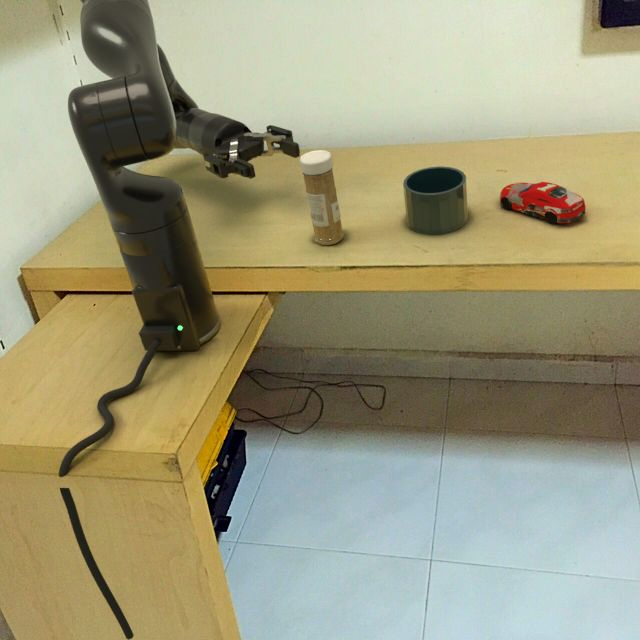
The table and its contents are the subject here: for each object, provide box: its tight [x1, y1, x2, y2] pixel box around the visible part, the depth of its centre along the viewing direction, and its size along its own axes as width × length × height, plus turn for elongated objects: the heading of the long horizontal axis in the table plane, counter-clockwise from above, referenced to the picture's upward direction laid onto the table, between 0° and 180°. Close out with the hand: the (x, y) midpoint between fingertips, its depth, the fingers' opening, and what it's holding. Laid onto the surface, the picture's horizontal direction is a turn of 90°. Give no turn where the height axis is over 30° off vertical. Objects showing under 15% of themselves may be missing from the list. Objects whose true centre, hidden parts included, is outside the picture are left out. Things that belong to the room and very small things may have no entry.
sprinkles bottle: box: [299, 149, 345, 246], centre depth 109 cm, size 5×5×14 cm
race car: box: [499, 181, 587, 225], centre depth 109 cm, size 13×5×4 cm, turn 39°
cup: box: [402, 166, 469, 236], centre depth 111 cm, size 9×9×6 cm
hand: (275, 161), depth 114 cm, fingers open, 8 cm apart
